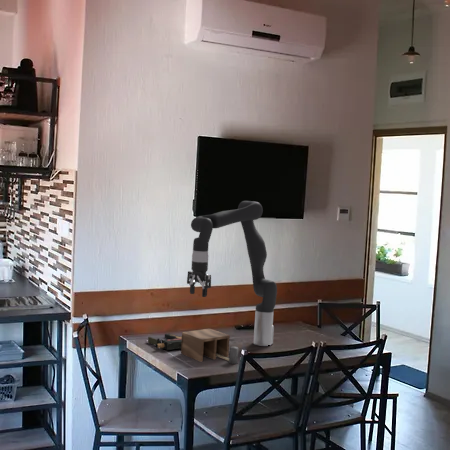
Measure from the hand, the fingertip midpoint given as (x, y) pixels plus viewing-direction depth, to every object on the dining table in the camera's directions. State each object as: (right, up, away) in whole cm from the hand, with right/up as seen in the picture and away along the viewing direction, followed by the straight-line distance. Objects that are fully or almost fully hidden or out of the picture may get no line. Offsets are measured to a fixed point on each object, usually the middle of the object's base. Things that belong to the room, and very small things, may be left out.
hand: (198, 295), depth 289 cm
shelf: (+3, -29, +4) cm, 29 cm away
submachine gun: (-13, -27, +22) cm, 37 cm away
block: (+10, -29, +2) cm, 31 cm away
